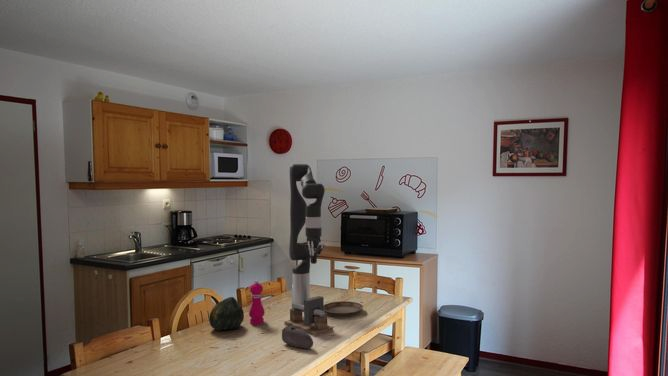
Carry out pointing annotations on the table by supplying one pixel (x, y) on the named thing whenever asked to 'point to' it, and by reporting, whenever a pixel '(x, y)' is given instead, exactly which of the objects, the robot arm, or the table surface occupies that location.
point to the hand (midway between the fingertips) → (313, 263)
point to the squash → (226, 315)
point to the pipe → (315, 311)
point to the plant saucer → (342, 309)
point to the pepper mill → (256, 304)
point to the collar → (310, 305)
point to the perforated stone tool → (296, 337)
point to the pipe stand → (313, 329)
